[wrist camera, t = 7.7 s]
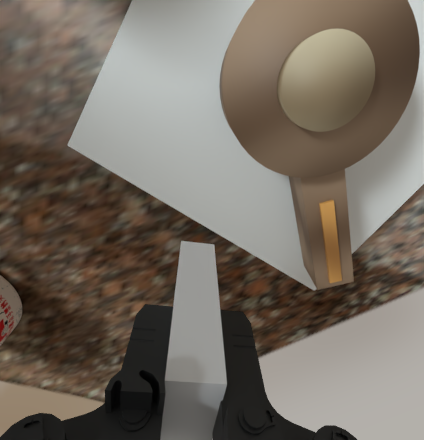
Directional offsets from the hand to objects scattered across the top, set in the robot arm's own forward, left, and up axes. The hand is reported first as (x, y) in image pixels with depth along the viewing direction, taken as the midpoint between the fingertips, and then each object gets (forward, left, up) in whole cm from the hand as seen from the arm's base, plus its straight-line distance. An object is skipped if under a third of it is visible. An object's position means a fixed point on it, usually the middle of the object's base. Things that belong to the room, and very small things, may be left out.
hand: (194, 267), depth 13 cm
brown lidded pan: (+4, +7, -7) cm, 11 cm away
